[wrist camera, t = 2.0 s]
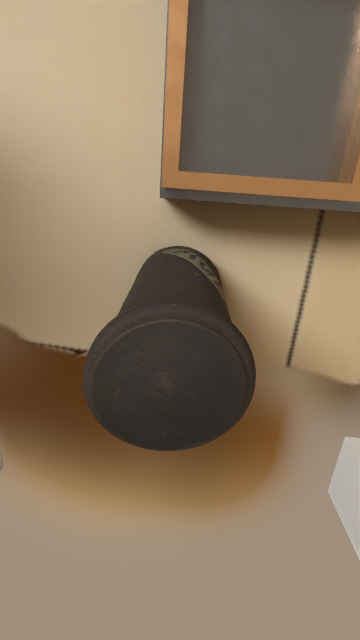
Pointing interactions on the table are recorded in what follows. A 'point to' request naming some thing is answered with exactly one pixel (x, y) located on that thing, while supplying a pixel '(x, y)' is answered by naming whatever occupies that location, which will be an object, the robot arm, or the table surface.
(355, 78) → the framed panel with knob
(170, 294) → the container
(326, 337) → the table surface
